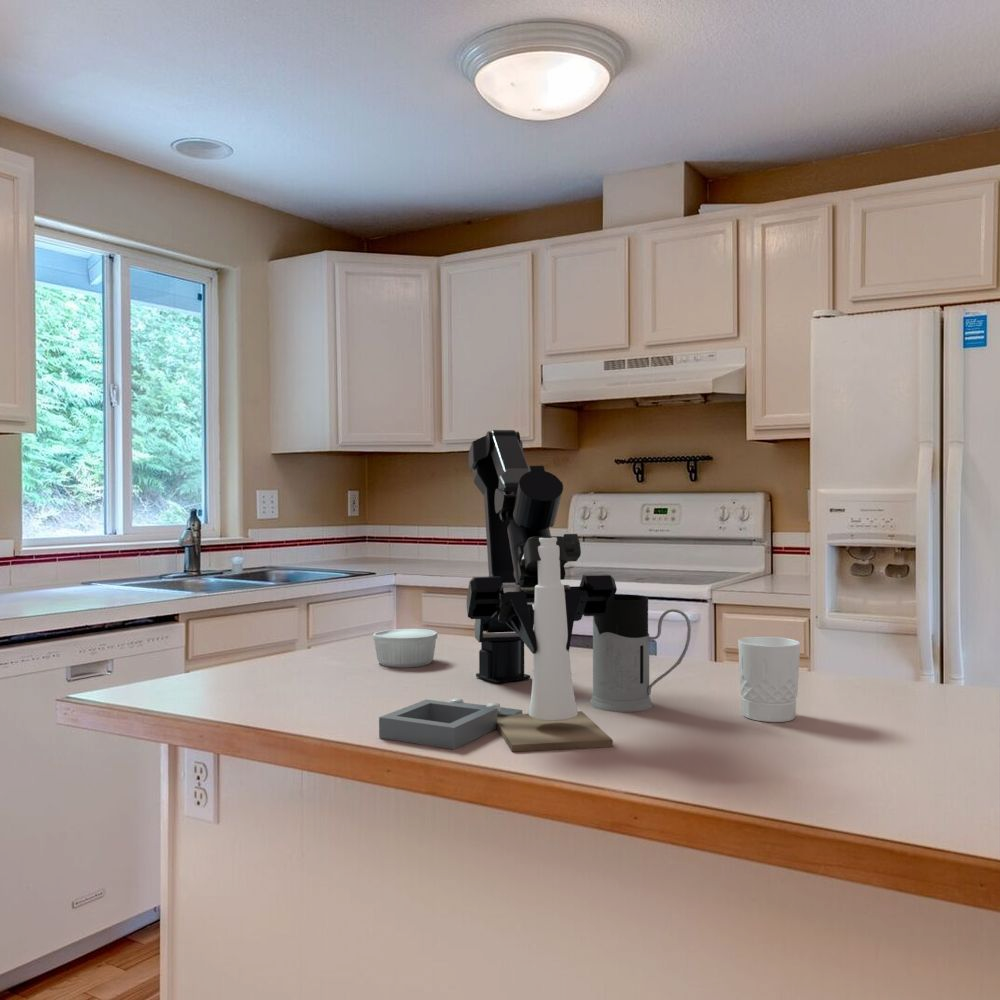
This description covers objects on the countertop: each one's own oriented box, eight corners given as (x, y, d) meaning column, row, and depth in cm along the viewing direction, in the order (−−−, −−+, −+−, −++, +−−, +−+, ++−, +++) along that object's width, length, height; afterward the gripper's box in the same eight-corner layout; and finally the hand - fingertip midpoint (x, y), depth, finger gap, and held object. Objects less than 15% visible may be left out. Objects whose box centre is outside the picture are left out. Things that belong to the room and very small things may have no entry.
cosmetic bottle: (554, 724, 110) (549, 540, 109) (518, 715, 114) (513, 538, 113) (587, 714, 114) (582, 536, 113) (551, 706, 118) (546, 535, 118)
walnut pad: (492, 721, 120) (492, 715, 120) (581, 717, 122) (581, 711, 122) (511, 751, 106) (511, 744, 106) (612, 746, 108) (612, 739, 108)
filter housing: (454, 707, 127) (453, 689, 127) (522, 716, 122) (522, 697, 122) (379, 737, 112) (379, 717, 112) (453, 749, 107) (453, 727, 107)
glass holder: (602, 694, 135) (602, 592, 135) (698, 704, 129) (698, 597, 128) (580, 707, 127) (580, 599, 127) (681, 718, 121) (682, 604, 121)
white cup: (767, 726, 117) (767, 648, 117) (725, 713, 124) (725, 639, 124) (813, 719, 120) (813, 643, 120) (769, 706, 127) (769, 634, 127)
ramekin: (382, 656, 166) (382, 627, 166) (443, 657, 165) (443, 628, 165) (365, 668, 155) (365, 637, 155) (430, 670, 154) (429, 638, 154)
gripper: (469, 513, 116) (482, 613, 105) (612, 512, 119) (639, 609, 108) (461, 569, 124) (473, 668, 113) (596, 567, 127) (619, 662, 116)
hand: (551, 651), depth 112 cm, fingers closed on cosmetic bottle, 4 cm apart
